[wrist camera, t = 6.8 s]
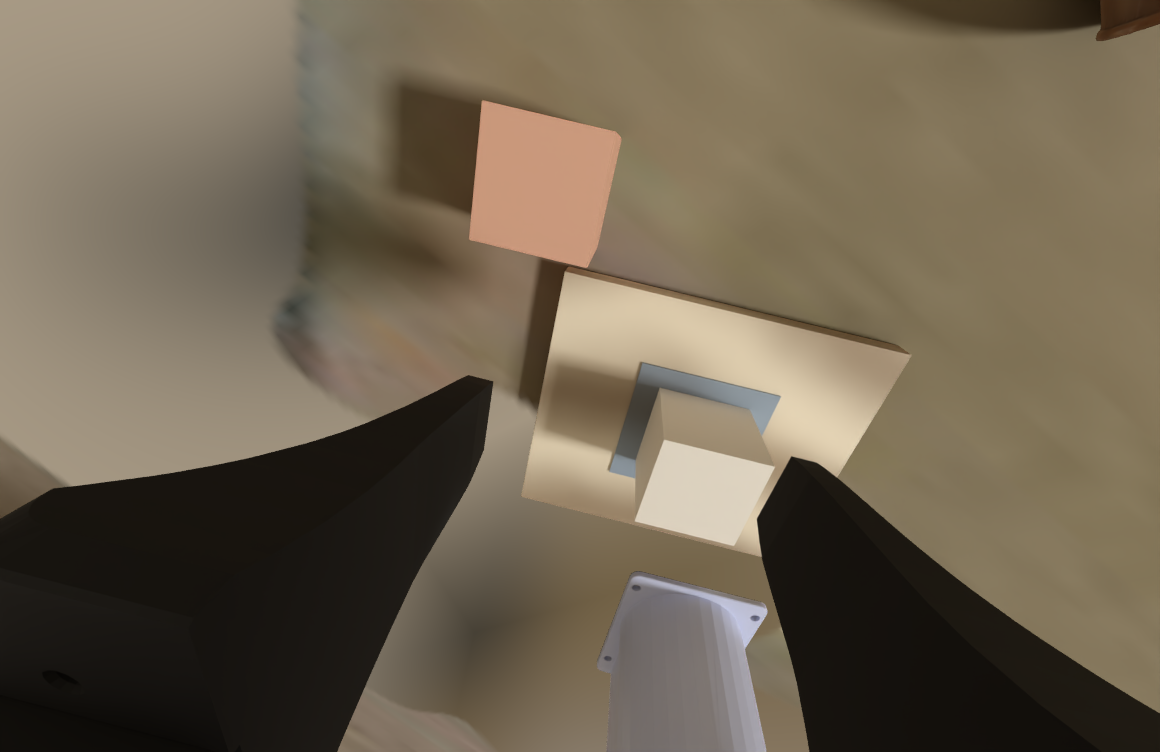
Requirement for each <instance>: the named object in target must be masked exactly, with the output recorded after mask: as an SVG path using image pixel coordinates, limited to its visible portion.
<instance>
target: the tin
mask: <svg viewBox="0 0 1160 752" xmlns="http://www.w3.org/2000/svg"><path fill="white" fill-rule="evenodd" d="M1100 5H1101V29H1100V31H1099V32H1098V33H1097V36H1096V40H1097V41H1105V40H1109V39H1113V38H1117V37H1120V36H1123V35H1127V34H1131V33H1133V32H1136V31H1139V30H1143V29H1146V28H1149V27H1152V26H1155V25H1158V24H1160V0H1100Z"/></svg>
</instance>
